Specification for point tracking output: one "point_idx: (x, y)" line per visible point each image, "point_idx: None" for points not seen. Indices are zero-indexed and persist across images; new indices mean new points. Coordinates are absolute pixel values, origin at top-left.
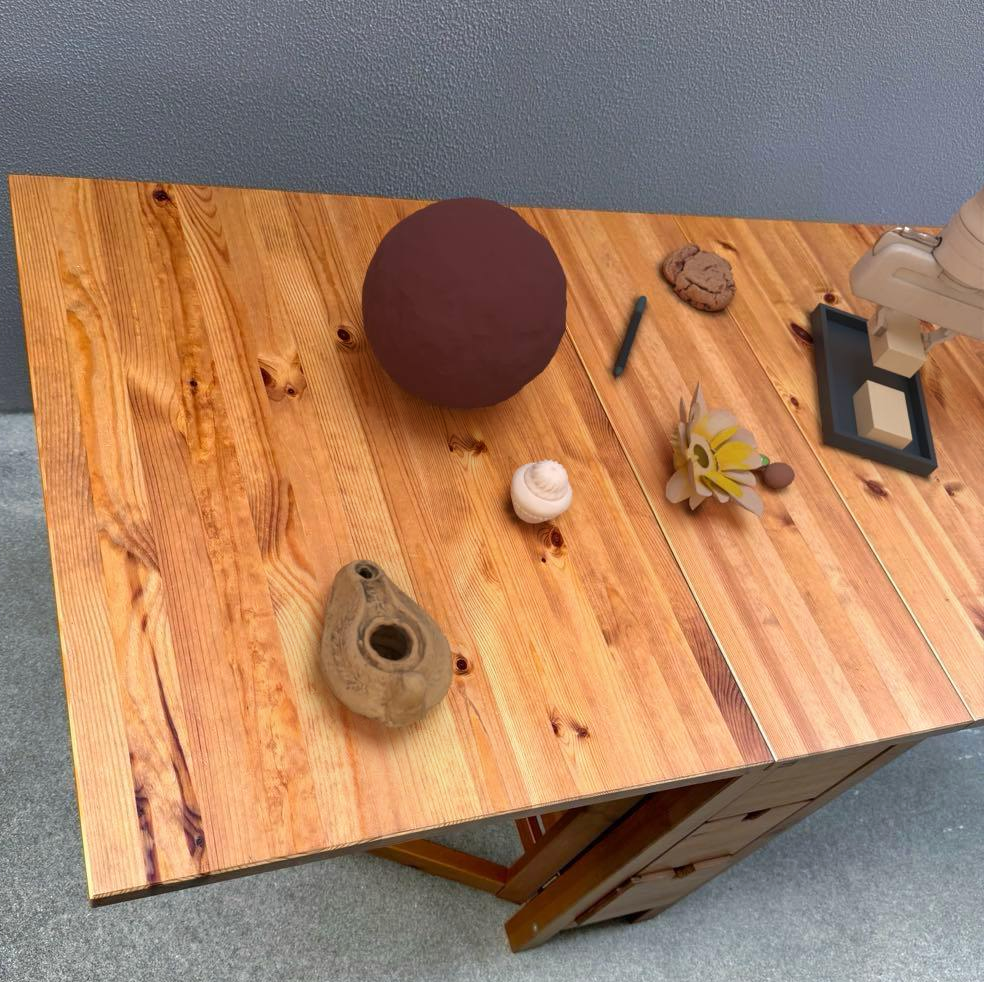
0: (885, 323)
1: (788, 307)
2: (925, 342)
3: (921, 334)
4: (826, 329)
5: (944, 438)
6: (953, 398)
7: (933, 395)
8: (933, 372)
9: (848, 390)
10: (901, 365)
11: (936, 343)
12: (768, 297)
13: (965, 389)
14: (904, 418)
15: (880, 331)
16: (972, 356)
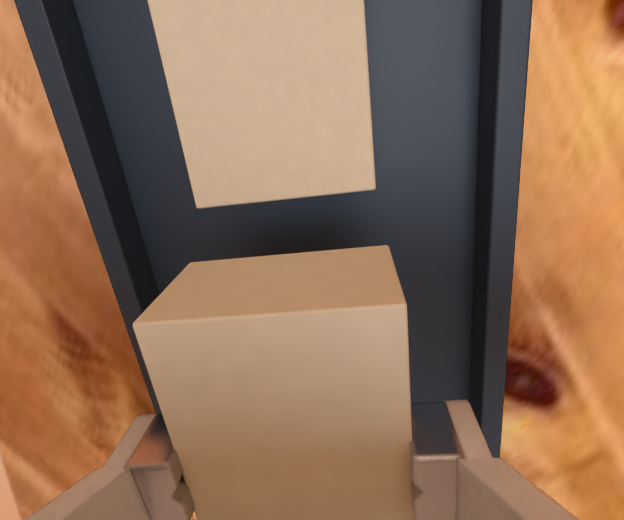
0: (429, 487)
1: (551, 458)
2: (161, 460)
3: (190, 505)
4: (487, 411)
5: (16, 175)
6: (34, 362)
7: (90, 344)
8: (107, 425)
9: (383, 194)
10: (260, 275)
11: (96, 477)
12: (616, 466)
13: (13, 410)
14: (174, 11)
15: (433, 427)
16: (27, 516)
